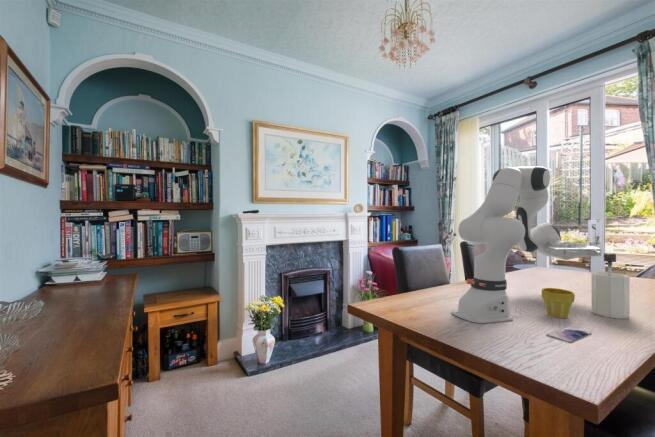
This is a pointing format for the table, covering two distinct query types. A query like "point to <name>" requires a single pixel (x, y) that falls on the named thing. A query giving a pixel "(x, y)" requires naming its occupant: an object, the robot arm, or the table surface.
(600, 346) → the table surface
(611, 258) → the plunger
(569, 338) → the smartphone
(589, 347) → the table surface
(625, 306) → the press carafe
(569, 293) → the plant pot
